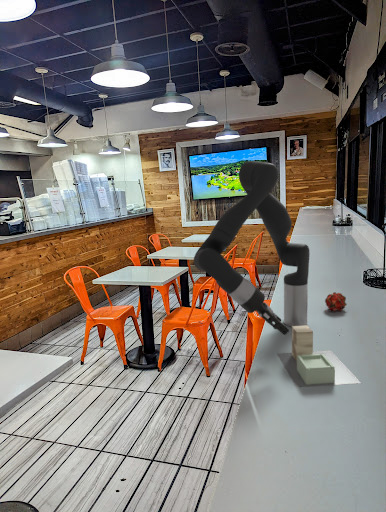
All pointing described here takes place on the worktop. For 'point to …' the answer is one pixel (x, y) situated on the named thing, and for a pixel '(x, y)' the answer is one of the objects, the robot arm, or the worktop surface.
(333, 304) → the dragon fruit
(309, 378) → the green plinth
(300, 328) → the birch pillar
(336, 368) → the grey flat plate
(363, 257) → the worktop surface
